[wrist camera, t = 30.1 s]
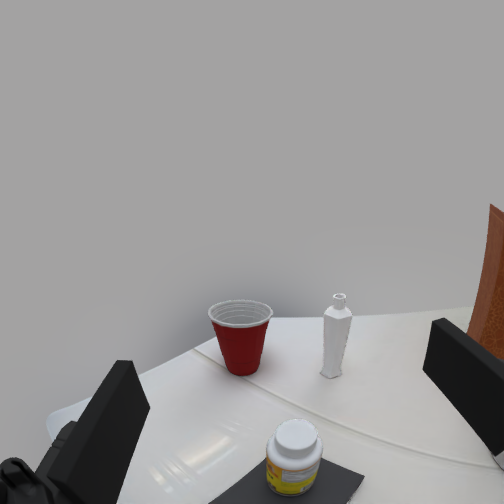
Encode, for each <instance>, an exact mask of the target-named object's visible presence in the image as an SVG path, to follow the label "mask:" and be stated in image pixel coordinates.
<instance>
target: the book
mask: <svg viewBox="0 0 504 504" xmlns="http://www.w3.org/2000/svg"><path fill="white" fill-rule="evenodd" d="M467 335H468V336H470V337H471V338H472V339H474V340H475V341H476V342H478V343H479V344H480V345H481V346H483V347H484V348H485V349H486V350H488V351H489V352H490V353H492V354H493V355H494V356H495V357H497V358H498V359H499V358H500V359H503V360H504V212H502V211H501V210H499V209H498V208H496V207H494V206H493V205H492V204H490V213H489V225H488V234H487V243H486V251H485V257H484V263H483V269H482V274H481V279H480V284H479V289H478V293H477V297H476V302H475V306H474V309H473V313H472V317H471V320H470V324H469V327H468V331H467Z"/></svg>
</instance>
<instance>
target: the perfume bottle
mask: <svg viewBox="0 0 504 504" xmlns="http://www.w3.org/2000/svg"><path fill="white" fill-rule="evenodd" d="M333 298H334V300H333V306H330V307H328V309H327V310H326V311H325V312H324V351H323V367H322V369H321V372H320V373H321V374H323V375H324V376H326V377H328V378H334V377H336V376H339V375H341V374H342V373H341V363H342V359H343V355H344V351H345V347H346V343H347V338H348V334H349V329H350V325H351V320H352V313H351V312H350V310H349V309H348V308H347V307H345V299H346V296H345V295H344V294H335V295H334V296H333Z"/></svg>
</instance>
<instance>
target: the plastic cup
mask: <svg viewBox="0 0 504 504" xmlns="http://www.w3.org/2000/svg"><path fill="white" fill-rule="evenodd" d="M272 315H273V311H272V308H270V307H269V306H267V305H266V304H263V303H260V302H257V301H250V300H231V301H224V302H221V303H218V304H215V305H213V306H212V307H211V308H210V309H209V310H208V317H209V318H210V319H211V321H212V324H213V326H214V330H215V332H216V335H217V339H218V342H219V345H220V349H221V352H222V355H223V357H224V360H225V363H226V366H227V368H228V370H229V371H230V372H231V373H232V374H234V375H238V376H247V375H250V374H253V373H254V372H256V371H257V369H258V367H259V364H260V358H261V354H262V350H263V345H264V339H265V334H266V329H267V326H268V323H269V320H270V318H271V317H272Z"/></svg>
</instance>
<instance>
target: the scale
mask: <svg viewBox="0 0 504 504" xmlns="http://www.w3.org/2000/svg"><path fill="white" fill-rule="evenodd" d="M266 460H267V459H266V458H265V459H264V460H263V461H262V462H261V463H260V464H259V465H257V466H256V467H255V468H254V469H253V470H251V471H250V472H249V473H248V474H247V475H245V476H244V477H243V478H242V479H240V480H239V481H238V482H237V483H235V484H234V485H233V486H232V487H230V488H229V489H228V490H226V491H225V492H224V493H222V494H221V495H220V496H218V497H217V498H215V499H214V500H213V501H211V502H210V503H208V504H346V503H347V502H348V500H349V499H350V498H351V496H352V495H353V493H354V492H355V491H356V489H357V488H358V486H359V485H360V483H361V482H362V480H363V479H364V477H365V476H363V475H361V474H358V473H356V472H353V471H351V470H348V469H346V468H343V467H341V466H339V465H336V464H334V463H332V462H330V461H327V460H325V459H323V458H321V460H320V464H319V467H318V471H317V474H316V477H315V481H314V483H313V485H312V486H311V488H310V489H309V490H307V491H306V492H304V493H302V494H300V495H296V496H283V495H280V494H278V493H276V492H274V491H273V490H272V489H271V488H270V486H269V485H268V482H267V461H266Z"/></svg>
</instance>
